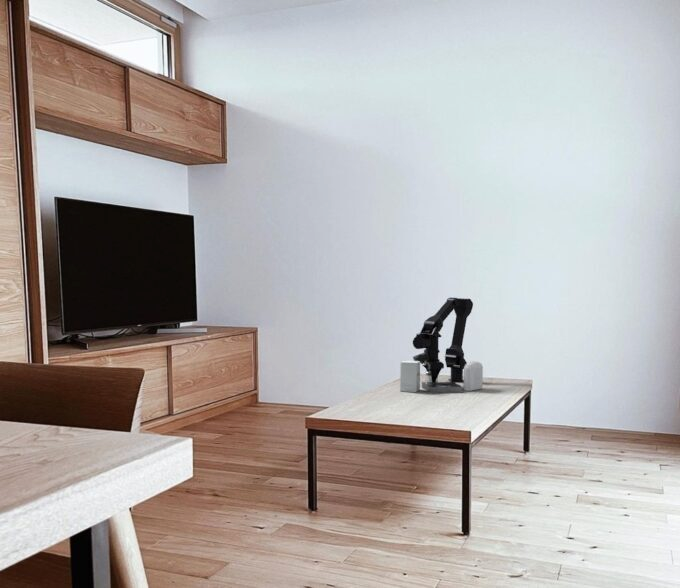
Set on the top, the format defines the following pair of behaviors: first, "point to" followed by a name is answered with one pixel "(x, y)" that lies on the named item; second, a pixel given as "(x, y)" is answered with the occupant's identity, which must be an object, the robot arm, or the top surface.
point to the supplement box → (410, 376)
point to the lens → (429, 377)
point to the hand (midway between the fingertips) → (431, 381)
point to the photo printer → (473, 376)
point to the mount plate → (442, 387)
